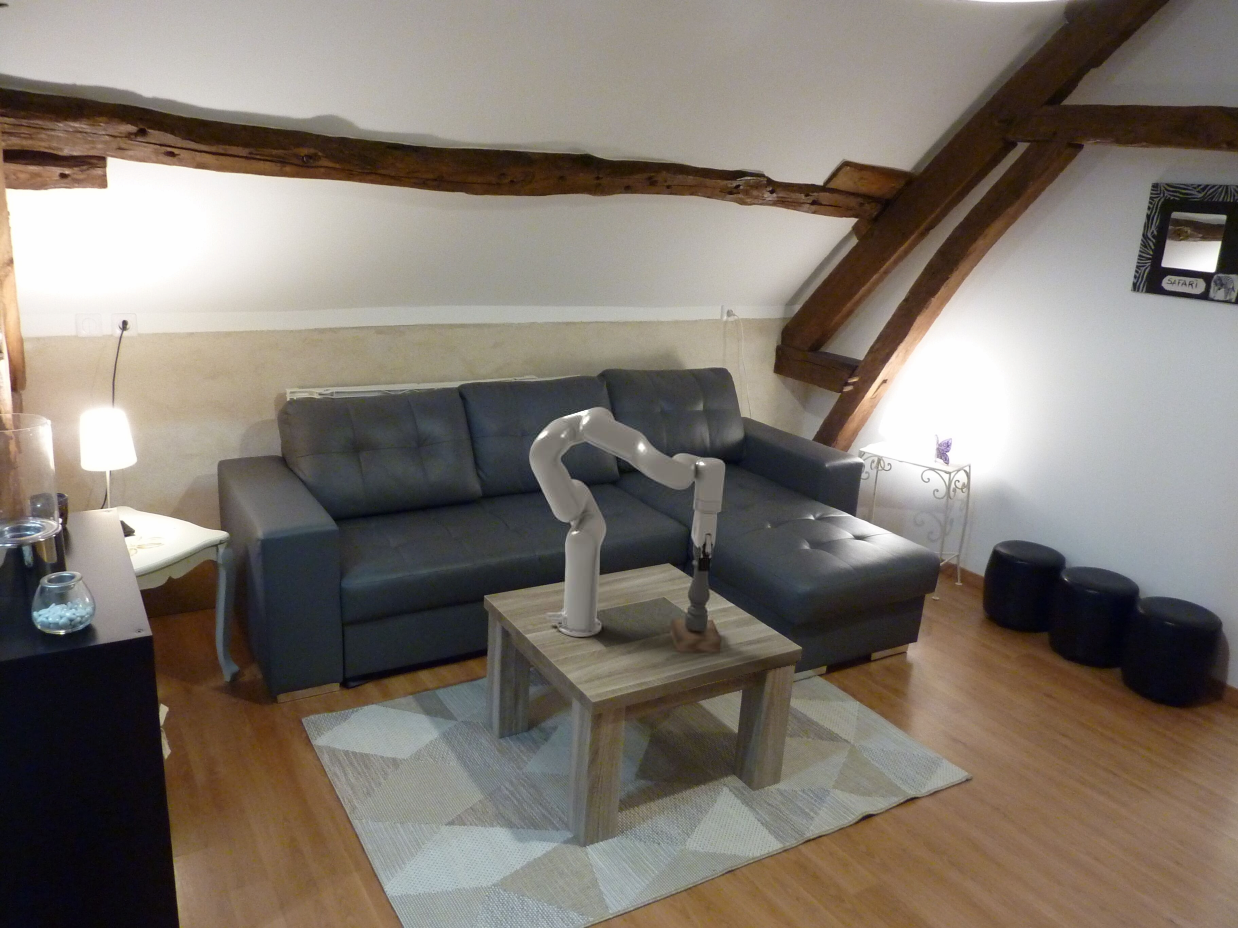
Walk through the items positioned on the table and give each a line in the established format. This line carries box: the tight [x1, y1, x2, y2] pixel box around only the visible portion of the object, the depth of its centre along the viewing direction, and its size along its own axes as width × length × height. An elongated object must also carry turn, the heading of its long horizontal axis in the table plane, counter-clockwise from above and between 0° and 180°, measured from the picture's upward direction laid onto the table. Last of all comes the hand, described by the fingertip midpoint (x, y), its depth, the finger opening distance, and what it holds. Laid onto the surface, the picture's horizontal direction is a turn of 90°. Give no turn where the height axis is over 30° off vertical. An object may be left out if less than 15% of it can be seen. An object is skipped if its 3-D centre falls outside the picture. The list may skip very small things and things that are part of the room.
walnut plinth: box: [670, 618, 722, 653], centre depth 267 cm, size 12×12×4 cm
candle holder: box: [684, 541, 715, 631], centre depth 263 cm, size 6×6×25 cm
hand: (701, 565), depth 261 cm, fingers closed on candle holder, 5 cm apart
